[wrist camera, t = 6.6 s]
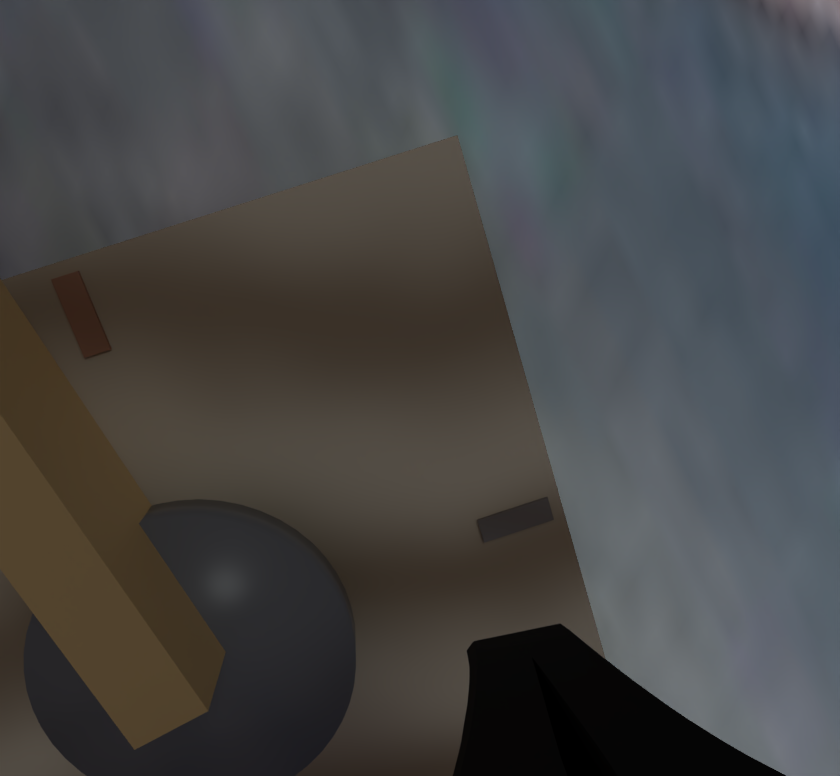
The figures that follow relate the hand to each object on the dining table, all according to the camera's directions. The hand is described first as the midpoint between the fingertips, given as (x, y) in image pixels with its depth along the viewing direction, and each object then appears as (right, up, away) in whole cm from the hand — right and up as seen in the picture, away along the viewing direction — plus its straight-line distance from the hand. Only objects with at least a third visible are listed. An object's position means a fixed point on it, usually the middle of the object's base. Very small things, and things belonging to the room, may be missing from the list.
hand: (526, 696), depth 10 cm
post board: (-7, -1, +9) cm, 11 cm away
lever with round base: (-8, +1, +6) cm, 10 cm away
